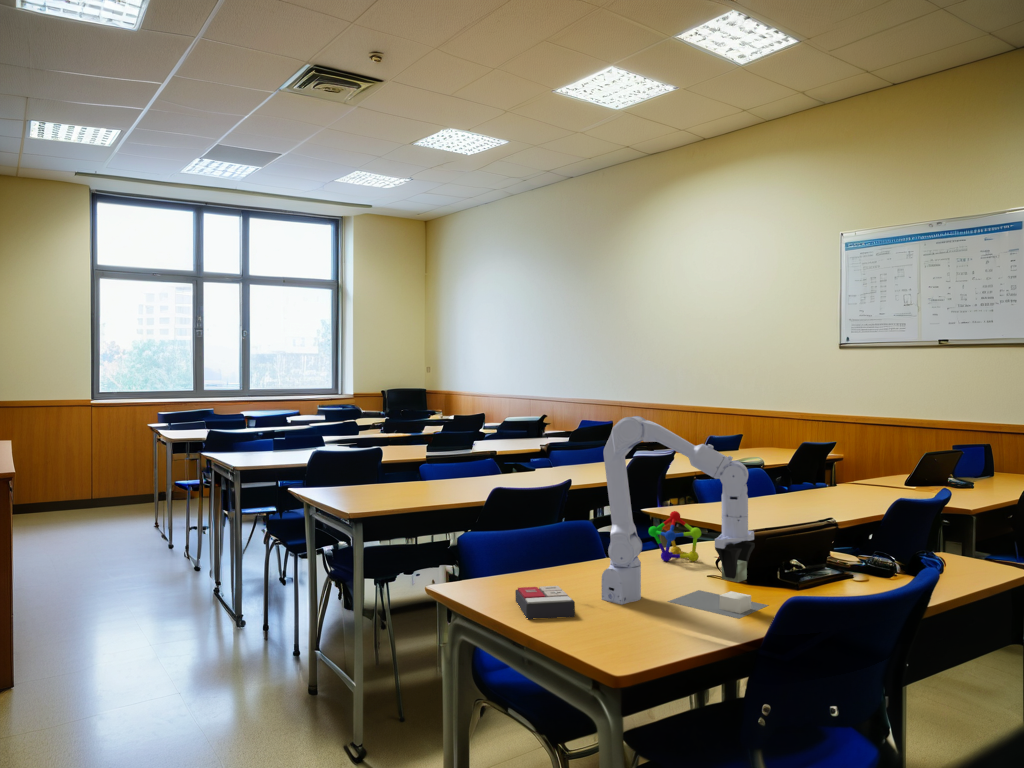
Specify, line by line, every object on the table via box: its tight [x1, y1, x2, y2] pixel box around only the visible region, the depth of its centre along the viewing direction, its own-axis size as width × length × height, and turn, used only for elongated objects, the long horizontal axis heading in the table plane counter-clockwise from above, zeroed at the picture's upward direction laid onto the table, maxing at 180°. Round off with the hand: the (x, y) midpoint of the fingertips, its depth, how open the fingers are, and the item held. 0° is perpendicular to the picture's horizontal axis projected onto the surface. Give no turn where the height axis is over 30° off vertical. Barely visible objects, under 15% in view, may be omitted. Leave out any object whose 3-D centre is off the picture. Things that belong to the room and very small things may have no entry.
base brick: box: [719, 590, 752, 614], centre depth 160 cm, size 5×5×3 cm
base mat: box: [667, 589, 770, 620], centre depth 164 cm, size 14×18×1 cm
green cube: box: [721, 560, 748, 583], centre depth 160 cm, size 4×4×4 cm
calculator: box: [514, 585, 576, 620], centre depth 164 cm, size 11×4×15 cm
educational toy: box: [648, 510, 702, 562], centre depth 212 cm, size 16×13×15 cm
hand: (735, 575), depth 160 cm, fingers closed on green cube, 4 cm apart
